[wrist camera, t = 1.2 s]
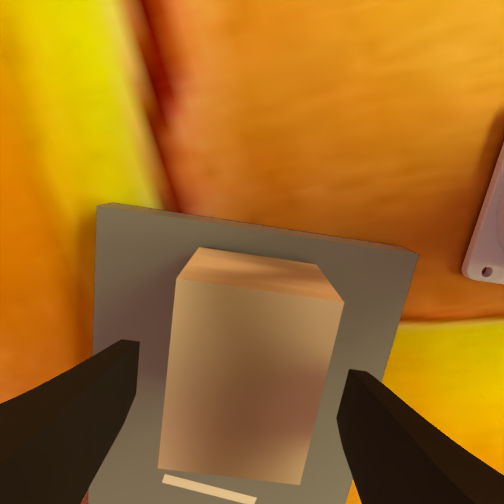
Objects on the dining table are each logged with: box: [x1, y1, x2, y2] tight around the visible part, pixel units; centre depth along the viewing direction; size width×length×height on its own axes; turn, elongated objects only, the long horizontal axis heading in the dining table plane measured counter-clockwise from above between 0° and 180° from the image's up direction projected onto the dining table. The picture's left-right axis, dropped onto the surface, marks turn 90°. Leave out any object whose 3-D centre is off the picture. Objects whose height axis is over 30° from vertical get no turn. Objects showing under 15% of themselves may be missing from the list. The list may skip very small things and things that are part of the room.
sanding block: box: [158, 247, 344, 485], centre depth 12 cm, size 5×7×4 cm
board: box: [88, 203, 419, 504], centre depth 16 cm, size 14×20×2 cm
